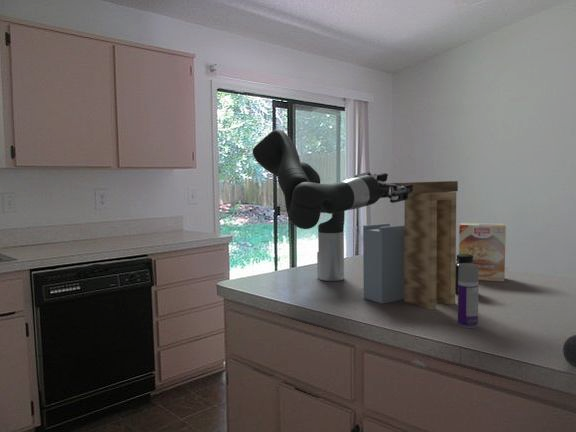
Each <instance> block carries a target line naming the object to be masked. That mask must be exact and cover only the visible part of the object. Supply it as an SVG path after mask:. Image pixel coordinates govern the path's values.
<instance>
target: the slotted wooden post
mask: <svg viewBox="0 0 576 432" xmlns="http://www.w3.org/2000/svg"><path fill="white" fill-rule="evenodd" d="M404 225H405V231H404V299H403V300H404V302H405V303H408V304H412V305H414V306H415V305H416V306H418V307H421V308H425V309H428V310H434V309H437V302H439V303H444V304H447V305H451V306H452V305H456V294H455V282H456V263H457V261H456V259H457V252H456V251H457V191H455V192H436V193H416V194H409V195H408V199H407V200H404Z"/></svg>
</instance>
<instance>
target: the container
mask: <svg viewBox="0 0 576 432" xmlns="http://www.w3.org/2000/svg"><path fill="white" fill-rule="evenodd" d="M479 281H480V280H479V277H478V265H477V264H473V263H460V264H459V272H458V294H457V325H458V326H460V327H462V328H466V329H468V328H469V329H473V328H478V327H479V285H480V284H479V283H480V282H479Z"/></svg>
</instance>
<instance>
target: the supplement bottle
mask: <svg viewBox="0 0 576 432" xmlns="http://www.w3.org/2000/svg"><path fill="white" fill-rule="evenodd" d="M472 262H473V255H469V254H459V253H458V254H456V282H455V295H458V272H459V264H460V263H472Z"/></svg>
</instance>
